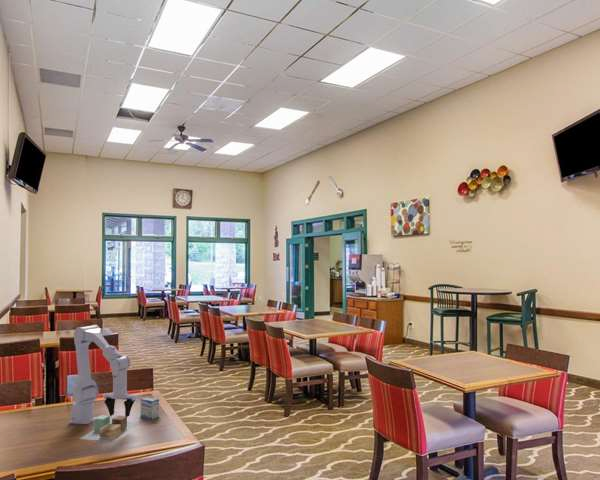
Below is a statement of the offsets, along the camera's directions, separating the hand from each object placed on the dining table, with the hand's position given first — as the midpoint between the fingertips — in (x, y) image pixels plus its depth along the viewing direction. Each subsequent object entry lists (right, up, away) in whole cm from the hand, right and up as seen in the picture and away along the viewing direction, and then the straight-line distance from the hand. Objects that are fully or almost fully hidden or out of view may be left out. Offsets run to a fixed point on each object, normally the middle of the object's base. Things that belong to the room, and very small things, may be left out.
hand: (119, 415), depth 204 cm
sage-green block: (-8, -6, 0) cm, 10 cm away
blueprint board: (-3, -6, -2) cm, 7 cm away
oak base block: (-1, -6, -7) cm, 9 cm away
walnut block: (0, -6, 0) cm, 6 cm away
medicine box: (+8, -7, +15) cm, 19 cm away
